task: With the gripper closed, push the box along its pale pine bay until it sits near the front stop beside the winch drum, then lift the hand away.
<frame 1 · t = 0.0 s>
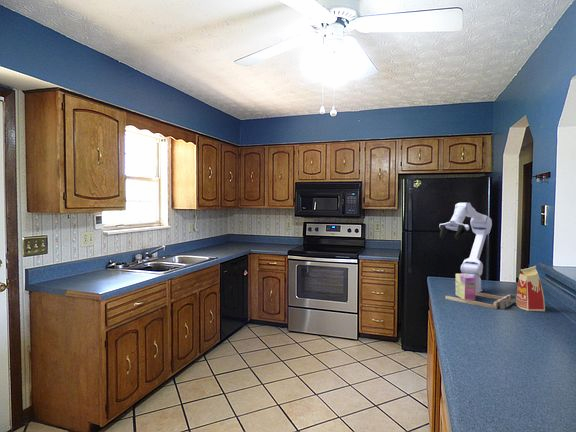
hand: (448, 238, 176), 32 cm above the worktop, tool tilted 50°, fingers open, 7 cm apart
box: (465, 298, 184), on the worktop
bay: (477, 299, 179), on the worktop
milk carton: (529, 308, 164), on the worktop
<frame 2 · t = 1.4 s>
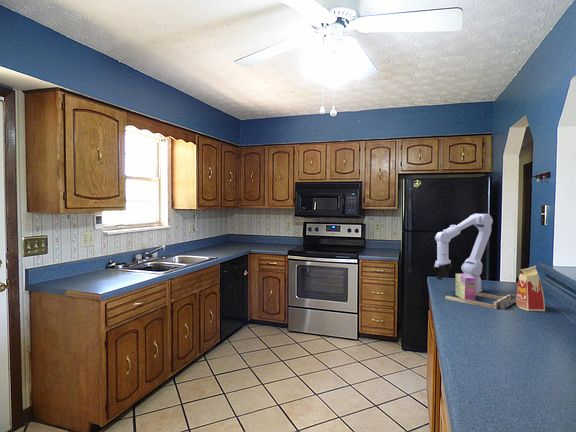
hand: (442, 278, 192), 8 cm above the worktop, tool pointing down, fingers open, 7 cm apart
nothing on the worktop moved.
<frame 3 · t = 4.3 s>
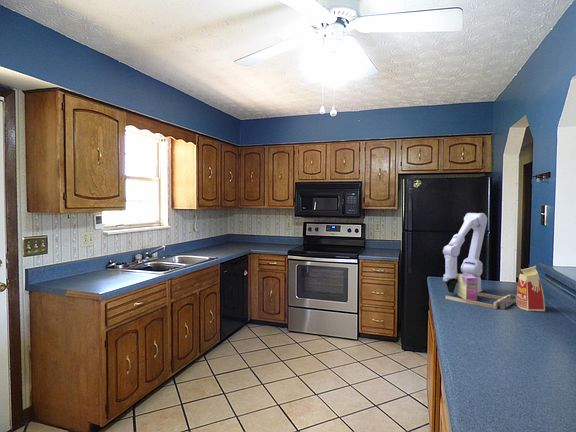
hand: (451, 292, 189), 1 cm above the worktop, tool pointing down, fingers closed
box: (467, 298, 183), on the worktop, touching gripper
everything else where it was.
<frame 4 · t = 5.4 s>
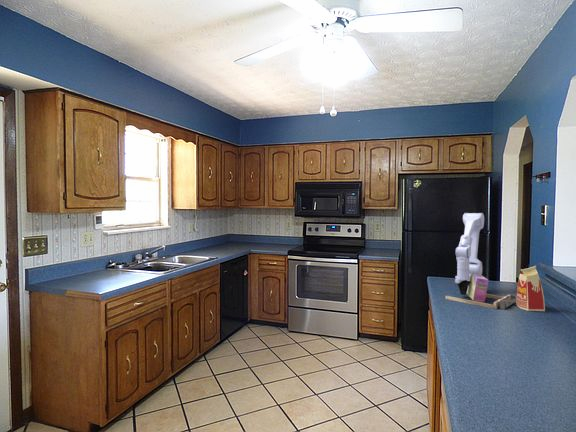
hand: (463, 294, 184), 1 cm above the worktop, tool pointing down, fingers closed
box: (475, 299, 180), on the worktop, touching gripper
everything else where it was.
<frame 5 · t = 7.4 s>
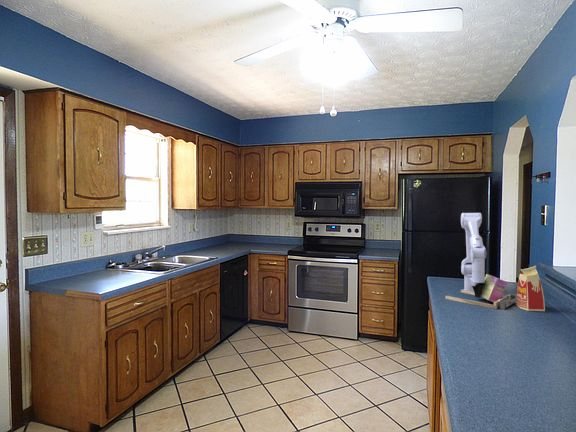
hand: (478, 297, 179), 1 cm above the worktop, tool pointing down, fingers closed
box: (488, 300, 176), point 1 cm above the worktop, touching bay, gripper
everything else where it was.
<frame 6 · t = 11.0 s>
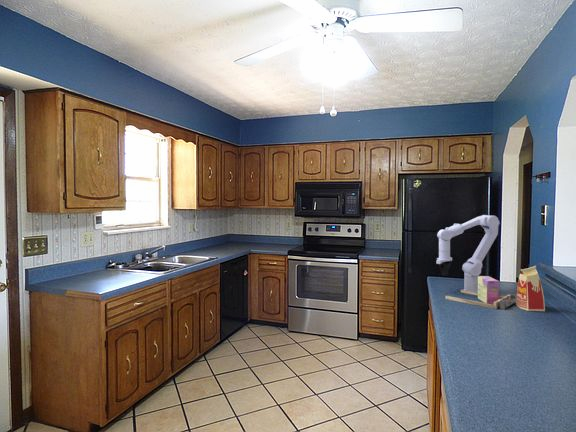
hand: (444, 275, 196), 9 cm above the worktop, tool pointing down, fingers closed
box: (487, 301, 176), on the worktop
everything else where it was.
at the end: box inside the target area (1.3 cm from its centre), on the worktop; box tilted 0° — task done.
